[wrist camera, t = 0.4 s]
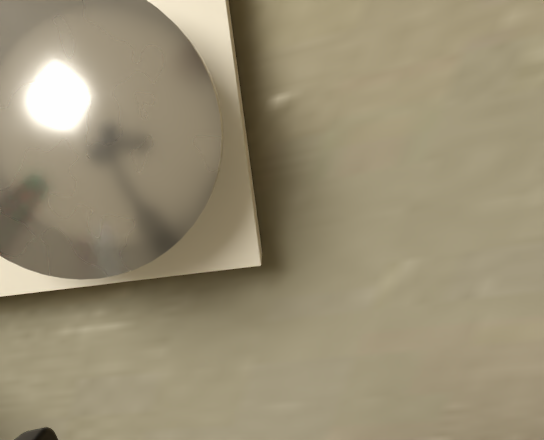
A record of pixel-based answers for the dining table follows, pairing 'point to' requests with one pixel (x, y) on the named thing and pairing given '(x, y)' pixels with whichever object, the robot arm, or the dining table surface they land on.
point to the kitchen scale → (229, 187)
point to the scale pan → (101, 135)
